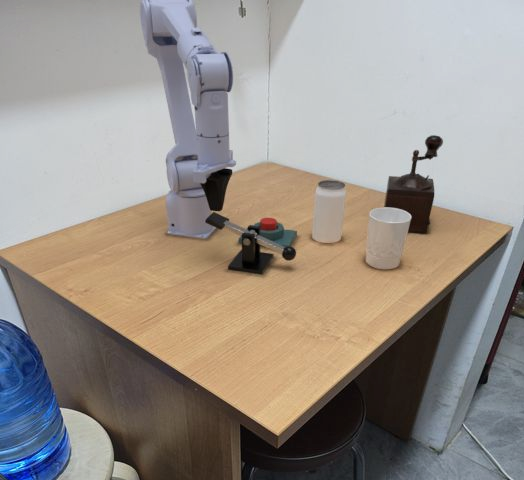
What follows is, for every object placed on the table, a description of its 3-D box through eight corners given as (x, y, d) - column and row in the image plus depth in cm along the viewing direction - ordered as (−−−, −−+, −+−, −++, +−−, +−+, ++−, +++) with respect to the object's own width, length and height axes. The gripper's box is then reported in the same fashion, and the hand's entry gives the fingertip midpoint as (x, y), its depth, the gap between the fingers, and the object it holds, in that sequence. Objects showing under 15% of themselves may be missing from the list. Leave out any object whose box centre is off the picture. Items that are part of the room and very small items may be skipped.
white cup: (404, 257, 101) (413, 210, 95) (399, 274, 95) (409, 225, 89) (365, 251, 103) (372, 205, 97) (359, 267, 97) (366, 219, 91)
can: (339, 246, 105) (346, 190, 98) (310, 243, 106) (314, 188, 99) (342, 234, 110) (348, 180, 103) (313, 231, 111) (317, 178, 104)
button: (257, 230, 104) (258, 222, 103) (262, 224, 107) (262, 216, 106) (274, 232, 103) (274, 224, 102) (278, 226, 106) (278, 218, 105)
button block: (238, 244, 105) (238, 230, 103) (249, 230, 111) (249, 217, 109) (287, 251, 102) (288, 237, 100) (296, 236, 108) (297, 222, 107)
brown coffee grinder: (430, 234, 110) (449, 151, 99) (380, 229, 112) (393, 147, 101) (427, 210, 122) (444, 133, 112) (382, 206, 124) (395, 130, 113)
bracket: (228, 270, 95) (226, 236, 91) (241, 253, 101) (240, 220, 97) (262, 275, 94) (262, 240, 89) (273, 258, 100) (274, 224, 95)
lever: (203, 227, 93) (206, 214, 92) (211, 219, 97) (214, 207, 95) (290, 266, 93) (295, 254, 91) (295, 257, 96) (300, 245, 94)
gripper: (219, 146, 78) (222, 226, 86) (247, 126, 89) (248, 199, 97) (179, 142, 80) (186, 221, 88) (211, 123, 91) (215, 195, 99)
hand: (216, 209), depth 93 cm, fingers closed
